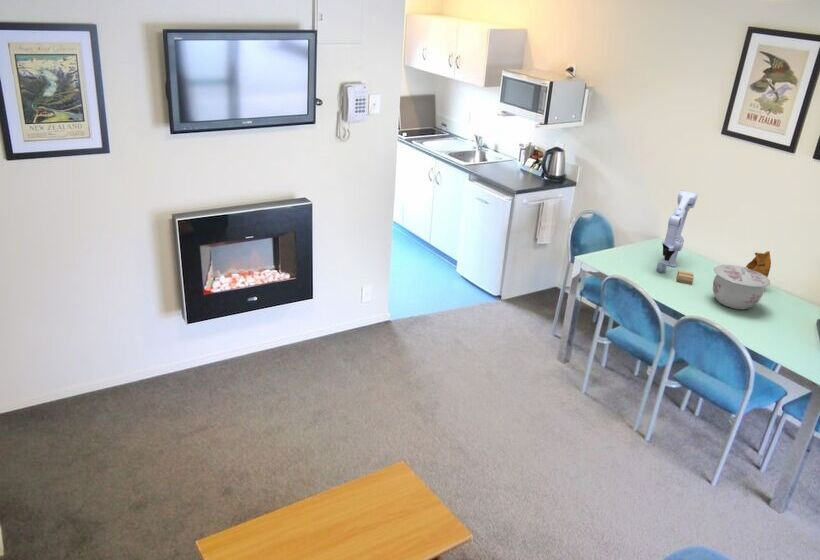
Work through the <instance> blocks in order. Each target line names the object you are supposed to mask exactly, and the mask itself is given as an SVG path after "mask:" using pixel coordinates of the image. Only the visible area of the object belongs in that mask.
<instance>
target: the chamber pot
mask: <svg viewBox="0 0 820 560" xmlns="http://www.w3.org/2000/svg"><path fill="white" fill-rule="evenodd" d="M713 271H714V273H715V276H714V277H713V282H712V292H713V295H714V297H715V300H716V301H717V302H718V303H720V304H722V305H723V306H725V307H728V308H730V309H735V310H749V309H750V308H753V307H754V306H755V305H756V304H758V303H759V302H760V301H761V299H762V297H763V295H764V292H765V287H767V286H770V285H771V280H770V279H769V277H766V276H765V275H763V274H761V273H759V272H757V271H755V270H752V269H749V268H748V267H746V266H745V267H744V266H740V265H735V264H734V265H732V264H720V265H717V266H715V267H714V268H713Z"/></svg>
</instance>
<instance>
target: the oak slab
mask: <svg viewBox="0 0 820 560" xmlns="http://www.w3.org/2000/svg"><path fill="white" fill-rule="evenodd" d="M677 274H678V279H680V280H685V281H690V282H692V283H693V281H694V279H695V277H694V272H690V271H685V270H681V269H679V270H678V271H677Z"/></svg>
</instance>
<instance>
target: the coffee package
mask: <svg viewBox="0 0 820 560" xmlns="http://www.w3.org/2000/svg"><path fill="white" fill-rule="evenodd" d="M754 255H755V256H754V258H753V259H752V260H751V261H750V262H748V263H747V264H746V265H745V267H748V268H749V269H752V270H755V271H757V272H759V273H761V274H763V275H765V276H766V277H767V278H769V276H770V275H769V274H770V271H771V267H772V266H771V265H772V259H771V252H770V251H769V250H767V251H765V252H764V253H762V252H756V251H755V253H754Z"/></svg>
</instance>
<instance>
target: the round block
mask: <svg viewBox="0 0 820 560" xmlns="http://www.w3.org/2000/svg"><path fill="white" fill-rule="evenodd" d="M667 268H668V265H666V264H664V263H662V262H658V263H657V265H656V270H655V271H656V272H657V273H659V274H666V270H667Z"/></svg>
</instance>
